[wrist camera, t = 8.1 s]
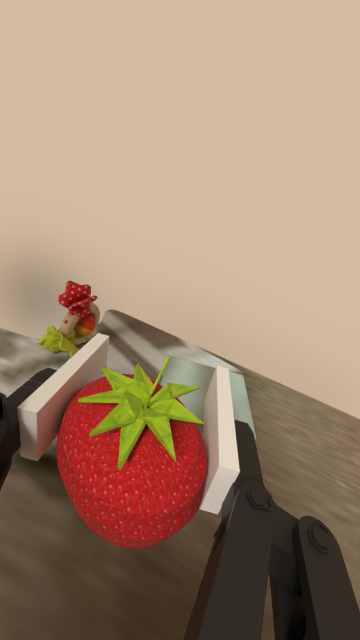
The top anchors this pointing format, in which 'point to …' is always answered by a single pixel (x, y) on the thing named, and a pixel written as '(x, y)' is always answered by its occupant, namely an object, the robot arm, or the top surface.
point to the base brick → (206, 389)
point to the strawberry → (132, 458)
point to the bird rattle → (73, 320)
